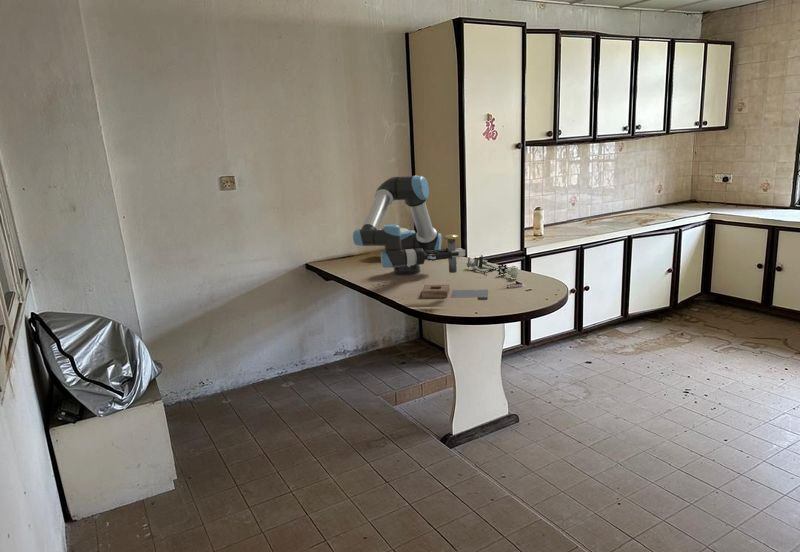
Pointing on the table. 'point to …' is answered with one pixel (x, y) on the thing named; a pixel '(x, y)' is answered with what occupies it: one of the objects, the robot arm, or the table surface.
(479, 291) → the mat
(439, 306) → the table surface
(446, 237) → the brass topped pillar
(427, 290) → the eye block
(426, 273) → the table surface
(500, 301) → the table surface
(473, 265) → the bike brake
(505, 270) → the valve
